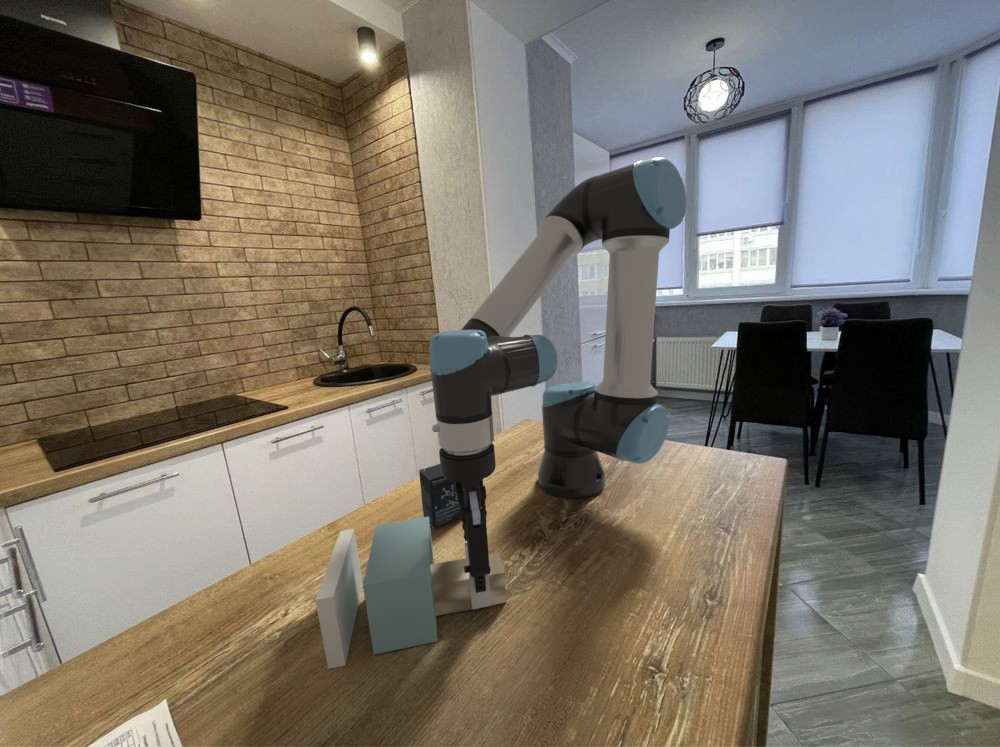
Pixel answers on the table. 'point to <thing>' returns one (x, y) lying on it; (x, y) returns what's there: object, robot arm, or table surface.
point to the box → (438, 497)
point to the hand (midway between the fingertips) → (478, 592)
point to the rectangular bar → (463, 585)
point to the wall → (340, 599)
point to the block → (400, 586)
